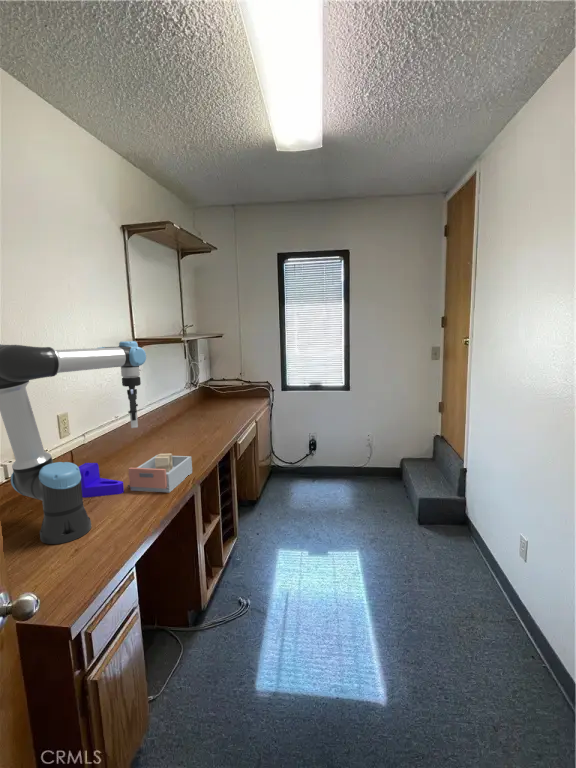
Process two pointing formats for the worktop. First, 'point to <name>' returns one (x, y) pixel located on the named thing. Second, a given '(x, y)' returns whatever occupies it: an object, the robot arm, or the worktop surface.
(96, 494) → the bracket
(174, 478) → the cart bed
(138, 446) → the worktop surface
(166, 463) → the beige block
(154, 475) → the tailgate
